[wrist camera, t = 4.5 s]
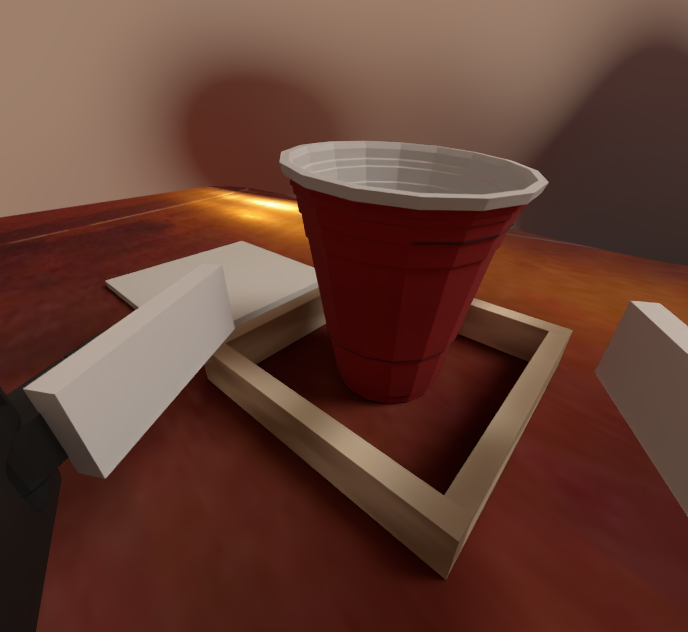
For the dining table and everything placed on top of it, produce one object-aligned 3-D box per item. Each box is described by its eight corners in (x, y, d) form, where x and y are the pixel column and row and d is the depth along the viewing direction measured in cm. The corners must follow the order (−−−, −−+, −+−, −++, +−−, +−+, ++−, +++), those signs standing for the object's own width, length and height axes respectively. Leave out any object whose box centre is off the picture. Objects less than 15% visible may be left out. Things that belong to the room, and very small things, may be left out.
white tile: (107, 286, 30) (105, 280, 30) (242, 245, 39) (242, 240, 39) (186, 350, 22) (184, 343, 22) (332, 280, 31) (332, 274, 31)
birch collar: (207, 379, 20) (198, 344, 18) (366, 290, 29) (367, 263, 28) (445, 580, 11) (459, 542, 10) (558, 364, 21) (572, 330, 20)
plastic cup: (394, 494, 14) (438, 185, 8) (263, 365, 21) (229, 148, 15) (520, 378, 20) (601, 152, 14) (385, 307, 27) (398, 137, 21)
